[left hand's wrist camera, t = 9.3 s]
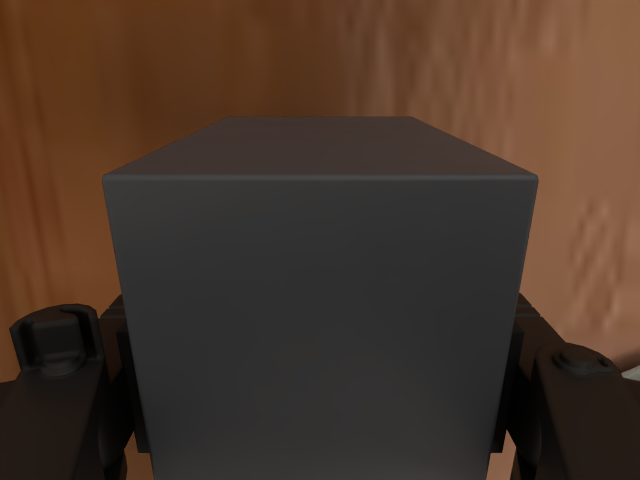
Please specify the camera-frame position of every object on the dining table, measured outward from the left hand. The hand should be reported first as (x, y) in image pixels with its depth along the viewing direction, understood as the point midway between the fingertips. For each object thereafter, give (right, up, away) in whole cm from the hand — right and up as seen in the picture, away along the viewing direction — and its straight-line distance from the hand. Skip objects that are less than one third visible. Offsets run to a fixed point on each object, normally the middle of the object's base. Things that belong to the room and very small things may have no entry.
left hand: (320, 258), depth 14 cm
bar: (0, -9, +4) cm, 10 cm away
